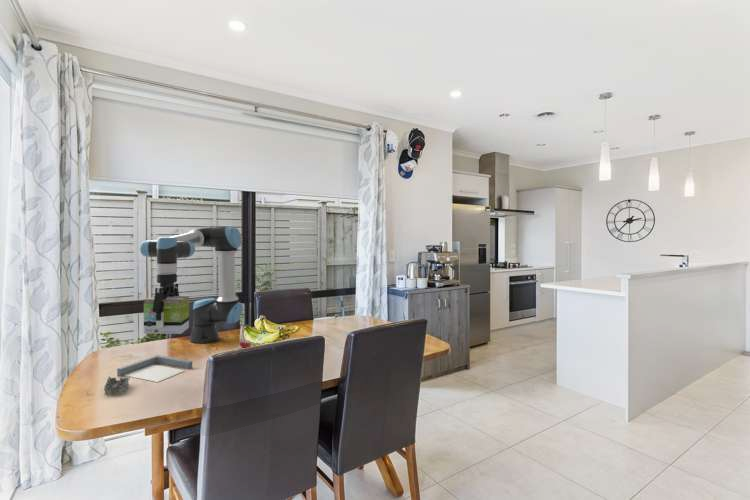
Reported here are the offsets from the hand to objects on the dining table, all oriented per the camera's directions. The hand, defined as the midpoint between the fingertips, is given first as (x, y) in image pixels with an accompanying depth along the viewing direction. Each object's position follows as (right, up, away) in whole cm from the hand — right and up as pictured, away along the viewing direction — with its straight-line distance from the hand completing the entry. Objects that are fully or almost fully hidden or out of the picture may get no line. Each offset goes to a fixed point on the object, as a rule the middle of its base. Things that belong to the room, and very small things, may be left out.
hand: (167, 324), depth 162 cm
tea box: (0, -3, 0) cm, 3 cm away
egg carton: (-11, -22, -16) cm, 29 cm away
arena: (-7, -21, +3) cm, 23 cm away
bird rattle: (+27, -22, +15) cm, 38 cm away
